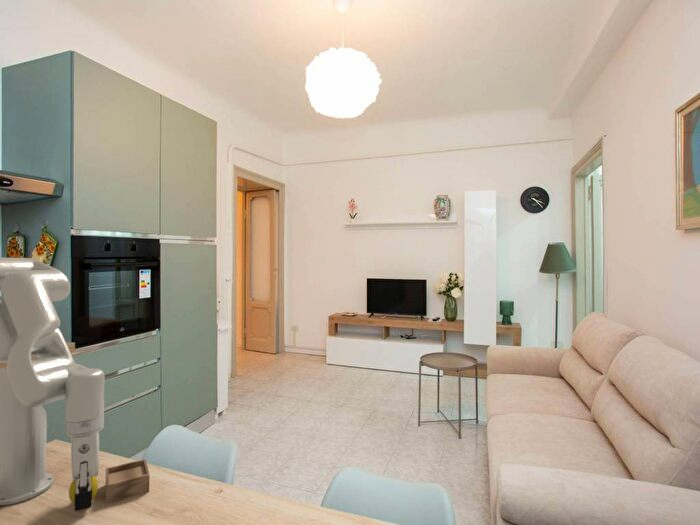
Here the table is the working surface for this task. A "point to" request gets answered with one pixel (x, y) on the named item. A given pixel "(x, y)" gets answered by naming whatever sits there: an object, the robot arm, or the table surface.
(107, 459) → the table surface
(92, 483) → the lemon
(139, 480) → the walnut tray
